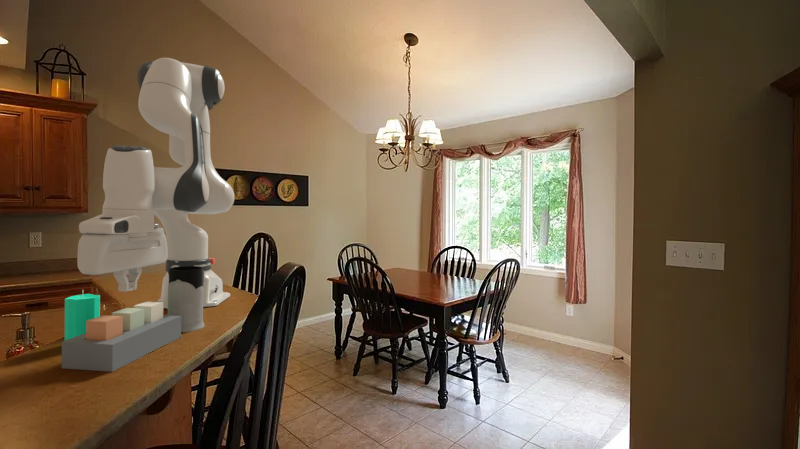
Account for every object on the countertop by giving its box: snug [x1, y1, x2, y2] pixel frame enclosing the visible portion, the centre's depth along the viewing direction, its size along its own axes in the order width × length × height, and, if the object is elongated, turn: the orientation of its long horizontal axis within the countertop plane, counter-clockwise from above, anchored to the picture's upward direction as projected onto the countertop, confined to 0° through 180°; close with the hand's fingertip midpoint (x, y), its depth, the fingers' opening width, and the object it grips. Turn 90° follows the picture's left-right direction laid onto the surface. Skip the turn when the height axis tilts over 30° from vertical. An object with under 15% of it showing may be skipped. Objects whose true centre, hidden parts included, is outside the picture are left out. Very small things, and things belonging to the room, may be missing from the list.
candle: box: [64, 289, 101, 341], centre depth 86 cm, size 6×6×12 cm
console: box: [61, 314, 182, 373], centre depth 83 cm, size 20×10×5 cm, turn 176°
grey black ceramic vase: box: [167, 266, 205, 333], centre depth 103 cm, size 9×14×15 cm, turn 3°
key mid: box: [111, 307, 145, 331], centre depth 83 cm, size 4×4×6 cm
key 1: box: [86, 314, 123, 341], centre depth 77 cm, size 4×4×6 cm
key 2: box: [133, 301, 164, 323], centre depth 89 cm, size 4×4×6 cm
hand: (127, 290), depth 82 cm, fingers closed
